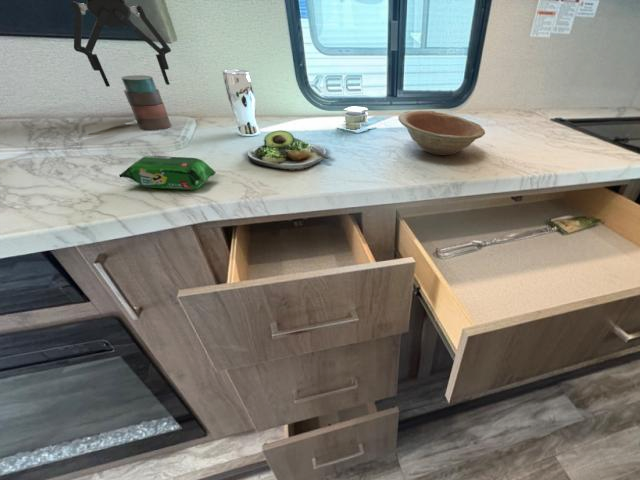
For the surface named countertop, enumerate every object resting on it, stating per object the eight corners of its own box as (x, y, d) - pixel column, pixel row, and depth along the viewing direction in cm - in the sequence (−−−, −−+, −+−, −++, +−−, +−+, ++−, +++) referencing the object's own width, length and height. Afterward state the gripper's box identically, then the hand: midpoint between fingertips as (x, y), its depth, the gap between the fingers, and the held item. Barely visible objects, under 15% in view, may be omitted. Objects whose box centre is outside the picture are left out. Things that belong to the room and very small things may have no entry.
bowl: (458, 172, 82) (464, 138, 77) (380, 151, 91) (380, 118, 86) (492, 150, 98) (499, 120, 93) (422, 133, 107) (425, 105, 102)
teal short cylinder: (120, 91, 88) (114, 78, 86) (140, 87, 94) (135, 74, 92) (143, 94, 88) (138, 80, 86) (162, 89, 93) (158, 76, 91)
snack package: (144, 176, 70) (132, 151, 67) (220, 179, 71) (212, 154, 68) (124, 191, 65) (109, 164, 61) (206, 194, 66) (197, 167, 62)
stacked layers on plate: (358, 134, 102) (358, 114, 99) (335, 128, 105) (334, 109, 102) (376, 127, 109) (376, 108, 105) (354, 122, 112) (353, 104, 109)
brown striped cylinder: (131, 128, 94) (115, 91, 88) (153, 121, 100) (139, 86, 94) (158, 131, 93) (143, 94, 87) (178, 124, 99) (166, 89, 93)
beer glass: (231, 134, 95) (214, 71, 85) (246, 128, 100) (233, 68, 90) (251, 138, 93) (237, 74, 84) (266, 132, 99) (255, 71, 89)
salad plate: (346, 155, 87) (345, 136, 84) (306, 178, 74) (303, 157, 71) (285, 142, 92) (282, 124, 89) (238, 162, 79) (233, 141, 76)
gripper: (20, -32, 68) (80, 89, 82) (161, -20, 79) (192, 85, 93) (25, -31, 72) (80, 83, 86) (157, -19, 84) (187, 80, 98)
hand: (138, 84), depth 90 cm, fingers open, 13 cm apart
